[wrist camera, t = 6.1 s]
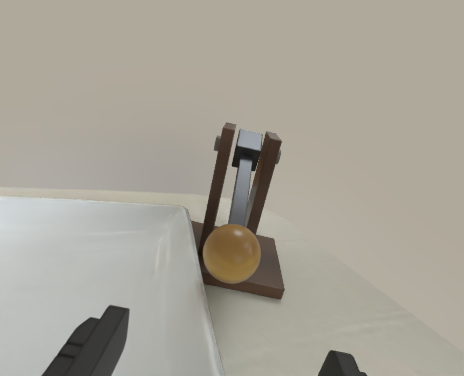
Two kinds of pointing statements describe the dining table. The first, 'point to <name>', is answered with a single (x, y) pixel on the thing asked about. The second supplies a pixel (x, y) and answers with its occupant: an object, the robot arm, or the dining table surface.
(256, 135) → the lever
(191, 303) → the square plate
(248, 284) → the latch bracket
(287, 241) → the dining table surface
